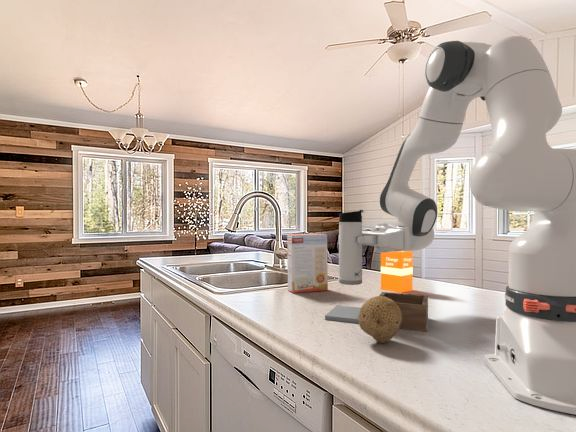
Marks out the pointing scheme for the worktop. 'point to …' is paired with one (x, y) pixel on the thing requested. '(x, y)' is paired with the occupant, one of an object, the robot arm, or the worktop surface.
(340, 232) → the travel mug
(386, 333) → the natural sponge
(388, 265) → the orange juice
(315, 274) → the cracker box
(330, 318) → the mat
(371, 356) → the worktop surface
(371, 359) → the worktop surface
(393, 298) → the wooden box
